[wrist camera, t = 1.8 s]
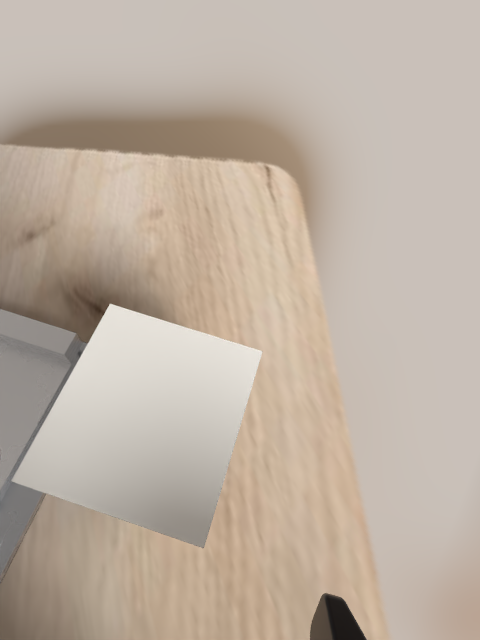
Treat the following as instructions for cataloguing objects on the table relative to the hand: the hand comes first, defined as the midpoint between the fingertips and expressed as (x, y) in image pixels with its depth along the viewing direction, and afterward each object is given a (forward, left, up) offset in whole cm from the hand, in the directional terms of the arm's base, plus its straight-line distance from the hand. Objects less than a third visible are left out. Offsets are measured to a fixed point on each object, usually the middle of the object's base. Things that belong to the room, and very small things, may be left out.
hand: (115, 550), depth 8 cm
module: (+3, +1, -10) cm, 11 cm away
